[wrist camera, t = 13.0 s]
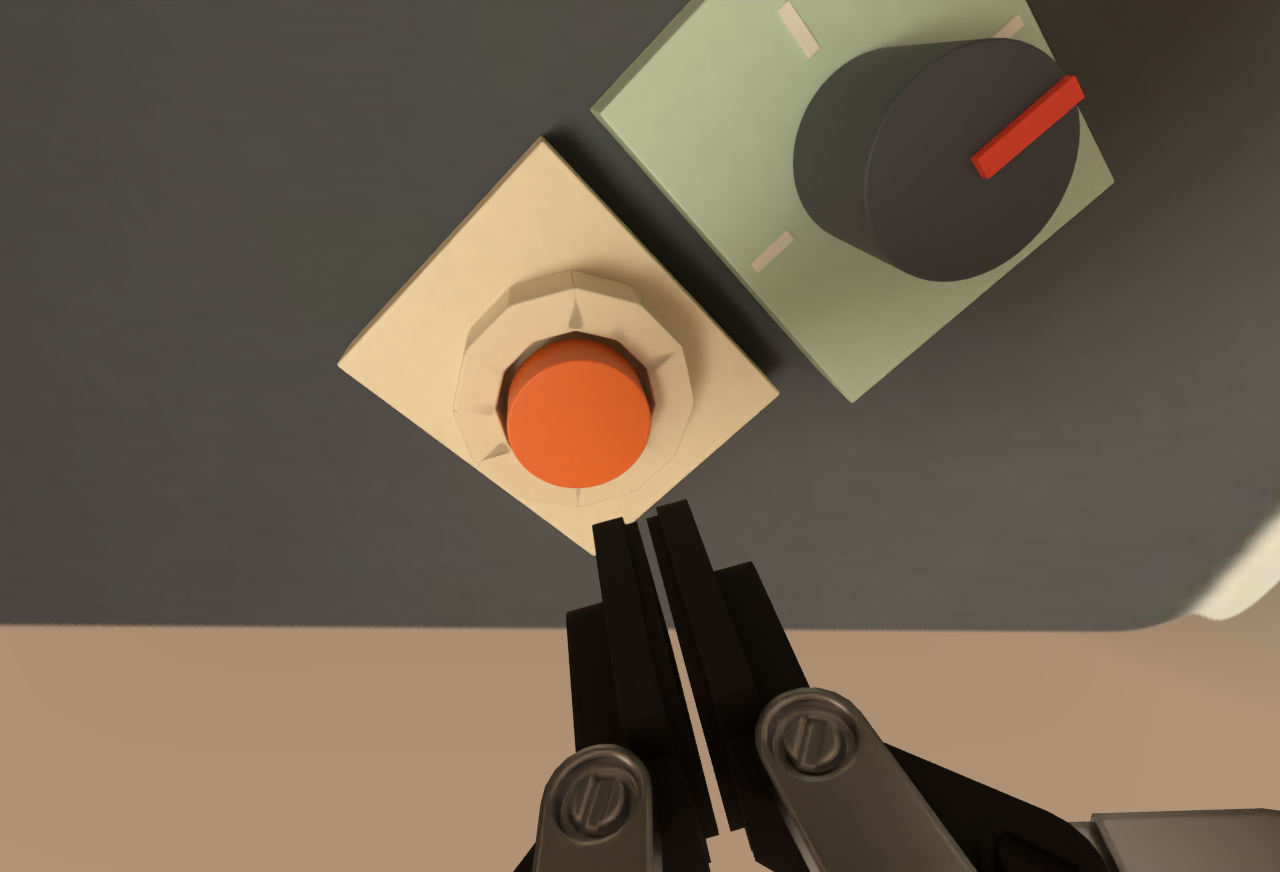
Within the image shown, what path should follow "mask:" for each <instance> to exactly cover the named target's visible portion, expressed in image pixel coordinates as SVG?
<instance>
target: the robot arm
mask: <svg viewBox="0 0 1280 872" xmlns="http://www.w3.org/2000/svg"><path fill="white" fill-rule="evenodd" d="M656 509H657V513H658V516H654V517H651V518H647V523H648V527H649V531H650V534H651V538H652V542H653V546H654V549H655V553H656V557H657V561H658V564H659V568H660V572H661V576H662V579H663V583H664V587H665V591H666V594H667V598H668V602H669V606H670V610H671V613H672V617H673V621H674V625H675V628H676V632H677V636H678V639H679V643H680V647H681V651H682V655H683V658H684V662H685V666H686V670H687V674H688V677H689V681H690V685H691V688H692V692H693V696H694V700H695V703H696V707H697V711H698V714H699V718H700V721H701V725H702V729H703V733H704V736H705V739H706V743H707V747H708V751H709V754H710V758H711V762H712V765H713V769H714V772H715V776H716V780H717V783H718V787H719V791H720V794H721V798H722V802H723V805H724V809H725V812H726V816H727V820H728V823H729V827H730V831H735V830H738V829H741V828H745V830H746V834H747V837H748V841H749V844H750V848H751V851H753V854H754V857H755V861H756V862H758V863H760V864H762V865H763V866H765V867H767V868H769V869H770V870H772V871H773V872H1280V811H1279V810H1270V809H1263V808H1259V809H1226V810H1195V811H1163V812H1128V813H1096V814H1092V816H1091V821H1090V822H1066V821H1064V820H1063V819H1061V818H1059V817H1057V816H1055V815H1054V814H1052V813H1050V812H1048V811H1046V810H1043V809H1041V808H1038V807H1036V806H1034V805H1031V804H1029V803H1027V802H1024V801H1022V800H1019V799H1017V798H1015V797H1012V796H1010V795H1008V794H1005V793H1003V792H1000V791H998V790H996V789H993V788H991V787H989V786H986V785H984V784H981V783H979V782H976V781H974V780H972V779H970V778H967V777H965V776H963V775H960V774H958V773H955V772H953V771H950V770H948V769H946V768H943V767H941V766H939V765H936V764H934V763H931V762H929V761H927V760H924V759H922V758H920V757H917V756H915V755H913V754H910V753H907V752H905V751H903V750H901V749H898V748H896V747H893V746H891V745H889V744H886V743H884V742H883V741H882V740H881V739H880V737H879V736H878V735H877V733H876V732H875V730H874V729H873V728H872V726H871V725H870V724H869V722H868V721H867V719H866V718H865V717H864V715H863V714H862V713H861V712H860V711H859V710H858V709H857V708H856V706H855V705H853V704H852V702H851V701H849V700H847V699H846V698H844V697H842V696H841V695H839V694H837V693H835V692H832V691H829V690H824V689H821V688H810V687H809V685H808V682H807V680H806V678H805V676H804V674H803V671H802V669H801V667H800V665H799V663H798V661H797V658H796V656H795V654H794V652H793V649H792V647H791V645H790V643H789V641H788V638H787V636H786V634H785V632H784V630H783V628H782V625H781V623H780V621H779V619H778V617H777V614H776V612H775V610H774V608H773V606H772V603H771V601H770V599H769V597H768V595H767V592H766V590H765V588H764V586H763V584H762V581H761V579H760V577H759V575H758V573H757V571H756V569H755V567H754V565H753V563H752V562H751V561H750V562H746V563H743V564H739V565H736V566H732V567H728V568H725V569H721V570H717V571H714V572H713V569H712V566H711V564H710V561H709V558H708V555H707V553H706V550H705V547H704V545H703V542H702V539H701V537H700V534H699V531H698V528H697V526H696V523H695V520H694V518H693V515H692V512H691V510H690V507H689V504H688V502H687V500H686V499H685V500H681V501H677V502H674V503H670V504H666V505H663V506H659V507H656ZM592 531H593V538H594V545H595V552H596V559H597V566H598V573H599V580H600V587H601V594H602V601H603V602H601V603H598V604H594V605H590V606H587V607H583V608H580V609H576V610H572V611H569V612H567V615H566V624H567V638H568V652H569V666H570V679H571V691H572V692H571V693H572V707H573V720H574V734H575V747H576V753H575V754H573V755H571V756H570V757H568V758H567V759H566V760H565V761H564V762H563V763H562V764H561V765H560V766H559V767H558V768H557V769H556V770H555V771H554V773H553V774H552V776H551V778H550V779H549V781H548V783H547V784H546V786H545V790H544V793H543V797H542V800H541V806H540V813H539V821H538V829H537V836H536V843H535V844H534V845H533V846H532V848H531V849H530V850H529V852H528V853H527V854H526V856H525V857H524V858H523V860H522V861H521V862H520V864H519V865H518V866H517V868H516V869H515V870H514V872H710V868H709V863H711V860H710V856H709V852H708V847H707V843H706V838H710V837H713V836H717V835H719V833H718V828H717V824H716V820H715V816H714V812H713V808H712V804H711V800H710V796H709V792H708V788H707V784H706V780H705V776H704V772H703V768H702V764H701V760H700V756H699V752H698V749H697V744H696V740H695V736H694V733H693V728H692V725H691V720H690V716H689V713H688V708H687V705H686V700H685V697H684V692H683V688H682V685H681V681H680V677H679V673H678V669H677V665H676V661H675V657H674V653H673V649H672V645H671V641H670V637H669V634H668V630H667V627H666V623H665V620H664V616H663V612H662V609H661V605H660V602H659V598H658V595H657V591H656V588H655V584H654V581H653V577H652V574H651V570H650V567H649V563H648V559H647V556H646V552H645V549H644V545H643V542H642V538H641V535H640V531H639V528H638V524H637V521H636V522H633V523H629V524H625V522H624V519H623V517H619V518H615V519H611V520H608V521H604V522H600V523H597V524H593V525H592Z"/></svg>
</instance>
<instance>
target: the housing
mask: <svg viewBox="0 0 1280 872" xmlns="http://www.w3.org/2000/svg"><path fill="white" fill-rule="evenodd" d="M566 339H587V340H593V341H596V342H600V343H603V344H605V345H607V346H609V347H611V348H613V349H614V350H616V351H618V352H619V353H620V354H621V355H623V356H624V357H625V358H626V359H627V360H628V362H629V363H630V364H631V365H632V367H633V368H634V370H635V372H636V374H637V376H638V378H639V380H640V383H641V386H642V388H643V391H644V393H645V396H646V398H647V401H648V404H649V407H650V413H651V430H650V435H649V439H648V442H647V444H646V446H645V449H644V450H643V452H642V454H641V455H640V457H639V458H638V459H637V461H636V462H635V463H634V464H633V465H632V466H631V467H630V468H629V469H628V470H627V471H626V472H624V473H623V474H622V475H620V476H619V477H617V478H615V479H613V480H611V481H609V482H607V483H604V484H601V485H598V486H594V487H589V488H565V487H560V486H555V485H552V484H549V483H547V482H545V481H543V480H541V479H539V478H537V477H536V476H534V475H533V474H531V473H530V472H529V471H528V470H527V469H525V468H524V467H523V465H522V464H521V463H520V462H519V461H518V459H517V458H516V456H515V455H514V453H513V451H512V448H511V446H510V443H509V440H508V434H507V408H508V394H509V388H510V385H511V382H512V379H513V377H514V375H515V373H516V371H517V370H518V368H519V367H520V365H521V364H522V363H523V362H524V361H525V360H526V359H527V358H528V357H529V356H530V355H531V354H533V353H534V352H536V351H537V350H539V349H540V348H542V347H544V346H546V345H548V344H551V343H554V342H557V341H561V340H566ZM337 365H338V366H339V367H340V368H341V369H342V370H344V371H345V372H346V373H348V374H349V375H351V376H352V377H353V378H355V379H356V380H357V381H359V382H360V383H361V384H363V385H364V386H365V387H367V388H368V389H369V390H371V391H372V392H373V393H375V394H376V395H377V396H379V397H380V398H382V399H383V400H384V401H386V402H387V403H388V404H390V405H391V406H392V407H394V408H395V409H396V410H398V411H399V412H400V413H402V414H403V415H404V416H406V417H407V418H408V419H410V420H411V421H413V422H414V423H415V424H417V425H418V426H419V427H421V428H422V429H423V430H425V431H426V432H427V433H429V434H430V435H431V436H433V437H434V438H435V439H437V440H438V441H439V442H441V443H442V444H444V445H445V446H446V447H448V448H449V449H450V450H452V451H453V452H454V453H456V454H457V455H458V456H460V457H461V458H462V459H464V460H465V461H466V462H468V463H469V464H470V465H472V466H473V467H475V468H476V469H477V470H479V471H480V472H481V473H483V474H484V475H485V476H487V477H488V478H489V479H491V480H492V481H493V482H495V483H496V484H497V485H499V486H500V487H501V488H503V489H504V490H506V491H507V492H508V493H510V494H511V495H512V496H514V497H515V498H516V499H518V500H519V501H520V502H522V503H523V504H524V505H526V506H527V507H528V508H530V509H531V510H532V511H534V512H535V513H537V514H538V515H539V516H541V517H542V518H543V519H545V520H546V521H547V522H549V523H550V524H551V525H553V526H554V527H555V528H557V529H558V530H559V531H561V532H562V533H563V534H565V535H566V536H568V537H569V538H570V539H572V540H573V541H574V542H576V543H577V544H578V545H580V546H581V547H582V548H584V549H585V550H586V551H588V552H589V553H590V554H592V555H596V552H595V545H594V538H593V531H592V525H593V524H597V523H600V522H604V521H608V520H611V519H615V518H619V517H623V519H624V522H625V524H629V523H633V522H634V521H635V520H636V519H637V518H638V517H640V516H641V515H642V514H643V513H644V512H645V511H646V510H648V509H649V508H650V507H651V506H652V505H653V504H654V503H656V502H657V501H658V500H659V499H660V498H661V497H662V496H664V495H665V494H666V493H667V492H668V491H669V490H671V489H672V488H673V487H674V486H675V485H676V484H677V483H679V482H680V481H681V480H682V479H683V478H684V477H685V476H687V475H688V474H689V473H690V472H691V471H692V470H693V469H695V468H696V467H697V466H698V465H699V464H700V463H701V462H703V461H704V460H705V459H706V458H707V457H708V456H709V455H711V454H712V453H713V452H714V451H715V450H716V449H717V448H719V447H720V446H721V445H722V444H723V443H724V442H725V441H727V440H728V439H729V438H730V437H731V436H732V435H734V434H735V433H736V432H737V431H738V430H739V429H740V428H742V427H743V426H744V425H745V424H746V423H747V422H748V421H750V420H751V419H752V418H753V417H754V416H755V415H756V414H758V413H759V412H760V411H761V410H762V409H763V408H764V407H766V406H767V405H768V404H769V403H770V402H771V401H772V400H774V399H775V398H776V397H777V396H778V395H779V391H778V390H777V389H776V387H775V386H774V385H773V384H772V382H771V381H770V380H769V379H768V378H767V376H766V375H765V374H764V373H763V371H762V370H761V369H760V368H759V367H758V366H757V365H756V364H755V363H754V362H753V361H752V360H751V359H750V358H749V356H748V355H747V354H746V353H745V352H744V351H743V350H742V349H741V348H740V347H739V346H738V345H737V344H736V343H735V342H734V340H733V339H732V338H731V337H730V336H729V335H728V334H727V333H726V332H725V331H724V330H723V329H722V328H721V327H720V325H719V324H718V323H717V322H716V321H715V320H714V319H713V318H712V317H711V316H710V315H709V314H708V313H707V312H706V310H705V309H704V308H703V307H702V306H701V305H700V304H699V303H698V302H697V301H696V300H695V299H694V298H693V297H692V295H691V294H690V293H689V292H688V291H687V290H686V289H685V288H684V287H683V286H682V285H681V284H680V283H679V282H678V280H677V279H676V278H675V277H674V276H673V275H672V274H671V273H670V272H669V271H668V270H667V269H666V268H665V267H664V265H663V264H662V263H661V262H660V261H659V260H658V259H657V258H656V257H655V256H654V255H653V254H652V253H651V252H650V251H649V249H648V248H647V247H646V246H645V245H644V244H643V243H642V242H641V241H640V240H639V239H638V238H637V237H636V236H635V234H634V233H633V232H632V231H631V230H630V229H629V228H628V227H627V226H626V225H625V224H624V223H623V222H622V221H621V219H620V218H619V217H618V216H617V215H616V214H615V213H614V212H613V211H612V210H611V209H610V208H609V207H608V206H607V204H606V203H605V202H604V201H603V200H602V199H601V198H600V197H599V196H598V195H597V194H596V193H595V192H594V191H593V189H592V188H591V187H590V186H589V185H588V184H587V183H586V182H585V181H584V180H583V179H582V178H581V177H580V176H579V174H578V173H577V172H576V171H575V170H574V169H573V168H572V167H571V166H570V165H569V164H568V163H567V162H566V161H565V159H564V158H563V157H562V156H561V155H560V154H559V153H558V152H557V151H556V150H555V149H554V148H553V147H552V146H551V145H550V143H549V142H548V141H547V140H546V139H545V138H544V137H542V136H540V137H539V138H538V139H537V140H536V141H535V142H534V143H533V144H532V145H531V147H530V148H529V149H528V150H527V151H526V152H525V153H524V154H523V155H522V156H521V157H520V159H519V160H518V161H517V162H516V163H515V164H514V165H513V166H512V167H511V168H510V169H509V171H508V172H507V173H506V174H505V175H504V176H503V177H502V178H501V179H500V180H499V181H498V183H497V184H496V185H495V186H494V187H493V188H492V189H491V190H490V191H489V192H488V193H487V195H486V196H485V197H484V198H483V199H482V200H481V201H480V202H479V203H478V204H477V205H476V207H475V208H474V209H473V210H472V211H471V212H470V213H469V214H468V215H467V216H466V217H465V219H464V220H463V221H462V222H461V223H460V224H459V225H458V226H457V227H456V228H455V229H454V231H453V232H452V233H451V234H450V235H449V236H448V237H447V238H446V239H445V240H444V241H443V243H442V244H441V245H440V246H439V247H438V248H437V249H436V250H435V251H434V252H433V254H432V255H431V256H430V257H429V258H428V259H427V260H426V261H425V262H424V263H423V264H422V266H421V267H420V268H419V269H418V270H417V271H416V272H415V273H414V274H413V275H412V276H411V278H410V279H409V280H408V281H407V282H406V283H405V284H404V285H403V286H402V287H401V288H400V290H399V291H398V292H397V293H396V294H395V295H394V296H393V297H392V298H391V299H390V300H389V302H388V303H387V304H386V305H385V306H384V307H383V308H382V309H381V310H380V311H379V312H378V314H377V315H376V316H375V317H374V318H373V319H372V320H371V321H370V322H369V323H368V324H367V326H366V327H365V328H364V329H363V330H362V331H361V332H360V333H359V334H358V335H357V336H356V338H355V339H354V340H353V341H352V342H351V343H350V345H349V346H348V348H347V350H346V351H345V353H344V354H343V356H342V357H341V359H340V360H339V362H338V364H337Z"/></svg>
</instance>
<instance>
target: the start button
mask: <svg viewBox="0 0 1280 872" xmlns="http://www.w3.org/2000/svg"><path fill="white" fill-rule="evenodd" d="M650 430H651V413H650V407H649V404H648V401H647V398H646V396H645V393H644V391H643V388H642V386H641V383H640V380H639V378H638V376H637V374H636V372H635V370H634V368H633V367H632V365H631V364H630V363H629V362H628V360H627V359H626V358H625V357H624V356H623V355H621V354H620V353H619V352H618V351H616V350H614V349H613V348H611V347H609V346H607V345H605V344H603V343H600V342H596V341H593V340H587V339H566V340H561V341H557V342H554V343H551V344H548V345H546V346H544V347H542V348H540V349H539V350H537V351H536V352H534V353H533V354H531V355H530V356H529V357H528V358H527V359H526V360H525V361H524V362H523V363H522V364H521V365H520V367H519V368H518V370H517V371H516V373H515V375H514V377H513V379H512V382H511V385H510V388H509V394H508V408H507V434H508V440H509V443H510V446H511V448H512V451H513V453H514V455H515V456H516V458H517V459H518V461H519V462H520V463H521V464H522V465H523V467H524V468H525V469H527V470H528V471H529V472H530V473H531V474H533V475H534V476H536V477H537V478H539V479H541V480H543V481H545V482H547V483H549V484H552V485H555V486H560V487H565V488H589V487H594V486H598V485H601V484H604V483H607V482H609V481H611V480H613V479H615V478H617V477H619V476H620V475H622V474H623V473H624V472H626V471H627V470H628V469H629V468H630V467H631V466H632V465H633V464H634V463H635V462H636V461H637V459H638V458H639V457H640V455H641V454H642V452H643V450H644V449H645V446H646V444H647V442H648V439H649V435H650Z"/></svg>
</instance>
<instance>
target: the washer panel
mask: <svg viewBox="0 0 1280 872" xmlns="http://www.w3.org/2000/svg"><path fill="white" fill-rule="evenodd" d="M986 38H1009V39H1014V40H1020V41H1023V42H1026V43H1028V44H1031V45H1033V46H1035V47H1037V48H1038V49H1040V50H1042V51H1044V52H1045V53H1046V54H1047V55H1049V56H1050V57H1051V58H1052V59H1053V60H1054V61H1055V59H1054V57H1053V55H1052V53H1051V51H1050V49H1049V47H1048V45H1047V43H1046V41H1045V39H1044V37H1043V35H1042V33H1041V31H1040V29H1039V26H1038V24H1037V22H1036V20H1035V18H1034V16H1033V14H1032V12H1031V10H1030V8H1029V6H1028V4H1027V2H1026V0H690V1H689V2H688V3H687V5H686V6H685V7H684V8H683V9H682V10H681V11H680V12H679V13H678V14H677V15H676V16H675V18H674V19H673V20H672V21H671V22H670V23H669V24H668V25H667V26H666V27H665V28H664V29H663V30H662V32H661V33H660V34H659V35H658V36H657V37H656V38H655V39H654V40H653V41H652V42H651V43H650V44H649V46H648V47H647V48H646V49H645V50H644V51H643V52H642V53H641V54H640V55H639V56H638V57H637V59H636V60H635V61H634V62H633V63H632V64H631V65H630V66H629V67H628V68H627V69H626V70H625V71H624V73H623V74H622V75H621V76H620V77H619V78H618V79H617V80H616V81H615V82H614V83H613V84H612V86H611V87H610V88H609V89H608V90H607V91H606V92H605V93H604V94H603V95H602V96H601V97H600V98H599V100H598V101H597V102H596V103H595V104H594V105H593V106H592V107H591V109H590V110H591V112H592V113H593V115H594V116H595V117H596V118H597V119H598V120H599V121H600V122H601V124H602V125H603V126H604V127H605V128H606V129H607V130H608V132H609V133H610V134H611V135H612V136H613V137H614V138H615V140H616V141H617V142H618V143H619V144H620V145H621V146H622V148H623V149H624V150H625V151H626V152H627V153H628V154H629V156H630V157H631V158H632V159H633V160H634V161H635V162H636V163H637V165H638V166H639V167H640V168H641V169H642V170H643V171H644V173H645V174H646V175H647V176H648V177H649V178H650V179H651V181H652V182H653V183H654V184H655V185H656V186H657V187H658V189H659V190H660V191H661V192H662V193H663V194H664V195H665V197H666V198H667V199H668V200H669V201H670V202H671V203H672V205H673V206H674V207H675V208H676V209H677V210H678V211H679V212H680V214H681V215H682V216H683V217H684V218H685V219H686V220H687V222H688V223H689V224H690V225H691V226H692V227H693V228H694V230H695V231H696V232H697V233H698V234H699V235H700V236H701V238H702V239H703V240H704V241H705V242H706V243H707V244H708V246H709V247H710V248H711V249H712V250H713V251H714V252H715V253H716V255H717V256H718V257H719V258H720V259H721V260H722V261H723V263H724V264H725V265H726V266H727V267H728V268H729V269H730V271H731V272H732V273H733V274H734V275H735V276H736V277H737V279H738V280H739V281H740V282H741V283H742V284H743V285H744V287H745V288H746V289H747V290H748V291H749V292H750V293H751V294H752V296H753V297H754V298H755V299H756V300H757V301H758V302H759V304H760V305H761V306H762V307H763V308H764V309H765V310H766V312H767V313H768V314H769V315H770V316H771V317H772V318H773V320H774V321H775V322H776V323H777V324H778V325H779V326H780V328H781V329H782V330H783V331H784V332H785V333H786V334H787V335H788V337H789V338H790V339H791V340H792V341H793V342H794V343H795V345H796V346H797V347H798V348H799V349H800V350H801V351H802V353H803V354H804V355H805V356H806V357H807V358H808V359H809V361H810V362H811V363H812V364H813V365H814V366H815V367H816V369H817V370H818V371H819V372H820V373H821V374H822V375H823V376H824V377H825V378H826V379H827V380H828V381H829V382H831V383H832V384H833V385H834V386H835V387H836V388H837V389H838V390H839V391H840V392H841V393H842V394H843V395H844V396H845V397H846V398H847V399H848V400H849V401H850V402H852V403H853V402H854V401H856V400H857V399H858V398H859V397H860V396H862V395H863V394H864V393H865V392H866V391H867V390H869V389H870V388H871V387H872V386H873V385H875V384H876V383H877V382H878V381H879V380H881V379H882V378H883V377H884V376H885V375H886V374H888V373H889V372H890V371H891V370H892V369H894V368H895V367H896V366H897V365H898V364H900V363H901V362H902V361H903V360H904V359H905V358H907V357H908V356H909V355H910V354H911V353H913V352H914V351H915V350H916V349H917V348H918V347H920V346H921V345H922V344H923V343H924V342H926V341H927V340H928V339H929V338H930V337H932V336H933V335H934V334H935V333H936V332H937V331H939V330H940V329H941V328H942V327H943V326H945V325H946V324H947V323H948V322H949V321H950V320H952V319H953V318H954V317H955V316H956V315H958V314H959V313H960V312H961V311H962V310H964V309H965V308H966V307H967V306H968V305H969V304H971V303H972V302H973V301H974V300H975V299H977V298H978V297H979V296H980V295H981V294H983V293H984V292H985V291H986V290H987V289H988V288H990V287H991V286H992V285H993V284H994V283H996V282H997V281H998V280H999V279H1000V278H1001V277H1003V276H1004V275H1005V274H1006V273H1007V272H1009V271H1010V270H1011V269H1012V268H1013V267H1015V266H1016V265H1017V264H1018V263H1019V262H1020V261H1022V260H1023V259H1024V258H1025V257H1026V256H1028V255H1029V254H1030V253H1031V252H1032V251H1033V250H1035V249H1036V248H1037V247H1038V246H1039V245H1041V244H1042V243H1043V242H1044V241H1045V240H1047V239H1048V238H1049V237H1050V236H1051V235H1052V234H1054V233H1055V232H1056V231H1057V230H1058V229H1060V228H1061V227H1062V226H1063V225H1064V224H1066V223H1067V222H1068V221H1069V220H1070V219H1071V218H1073V217H1074V216H1075V215H1076V214H1077V213H1079V212H1080V211H1081V210H1082V209H1083V208H1084V207H1086V206H1087V205H1088V204H1089V203H1090V202H1092V201H1093V200H1094V199H1095V198H1096V197H1098V196H1099V195H1100V194H1101V193H1102V192H1103V191H1105V190H1106V189H1107V188H1108V187H1109V186H1111V185H1112V184H1113V183H1114V179H1113V177H1112V175H1111V173H1110V171H1109V169H1108V167H1107V165H1106V163H1105V161H1104V159H1103V157H1102V154H1101V152H1100V150H1099V148H1098V146H1097V144H1096V142H1095V140H1094V138H1093V136H1092V134H1091V132H1090V130H1089V128H1088V126H1087V124H1086V122H1085V120H1084V118H1083V116H1082V114H1081V112H1080V110H1079V108H1078V110H1079V119H1080V142H1079V149H1078V155H1077V160H1076V164H1075V168H1074V172H1073V175H1072V178H1071V180H1070V183H1069V185H1068V188H1067V190H1066V192H1065V194H1064V196H1063V198H1062V200H1061V202H1060V204H1059V206H1058V208H1057V209H1056V211H1055V212H1054V214H1053V216H1052V217H1051V219H1050V220H1049V221H1048V223H1047V224H1046V225H1045V227H1044V228H1043V229H1042V231H1041V232H1040V233H1039V234H1038V235H1037V236H1036V237H1035V238H1034V239H1033V240H1032V241H1031V242H1030V243H1029V244H1028V245H1027V246H1026V247H1025V248H1024V249H1023V250H1022V251H1020V252H1019V253H1018V254H1017V255H1015V256H1014V257H1013V258H1011V259H1010V260H1008V261H1007V262H1005V263H1004V264H1002V265H1000V266H999V267H997V268H995V269H993V270H991V271H989V272H986V273H984V274H982V275H979V276H976V277H972V278H969V279H965V280H959V281H952V282H936V281H928V280H924V279H920V278H917V277H914V276H912V275H909V274H907V273H905V272H903V271H901V270H899V269H897V268H895V267H893V266H891V265H889V264H887V263H885V262H883V261H881V260H879V259H877V258H875V257H873V256H871V255H869V254H867V253H865V252H863V251H861V250H859V249H857V248H856V247H854V246H852V245H850V244H848V243H846V242H844V241H842V240H840V239H838V238H836V237H834V236H832V235H830V234H829V233H827V232H825V231H824V230H823V229H821V228H820V227H819V226H818V225H817V224H816V223H815V222H814V221H813V220H812V219H811V217H810V216H809V215H808V213H807V212H806V210H805V209H804V207H803V205H802V203H801V201H800V198H799V196H798V193H797V189H796V186H795V180H794V174H793V153H794V145H795V140H796V135H797V131H798V128H799V125H800V122H801V119H802V117H803V115H804V113H805V111H806V108H807V107H808V105H809V103H810V101H811V100H812V98H813V96H814V95H815V94H816V92H817V91H818V90H819V88H820V87H821V86H822V84H823V83H824V82H825V81H826V80H827V79H828V78H829V77H830V76H831V75H832V74H833V73H834V72H835V71H836V70H838V69H839V68H840V67H841V66H842V65H844V64H846V63H847V62H849V61H850V60H852V59H853V58H855V57H857V56H859V55H862V54H864V53H866V52H869V51H872V50H876V49H880V48H886V47H895V46H907V45H918V44H929V43H941V42H952V41H963V40H974V39H986ZM1055 62H1056V61H1055Z"/></svg>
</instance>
